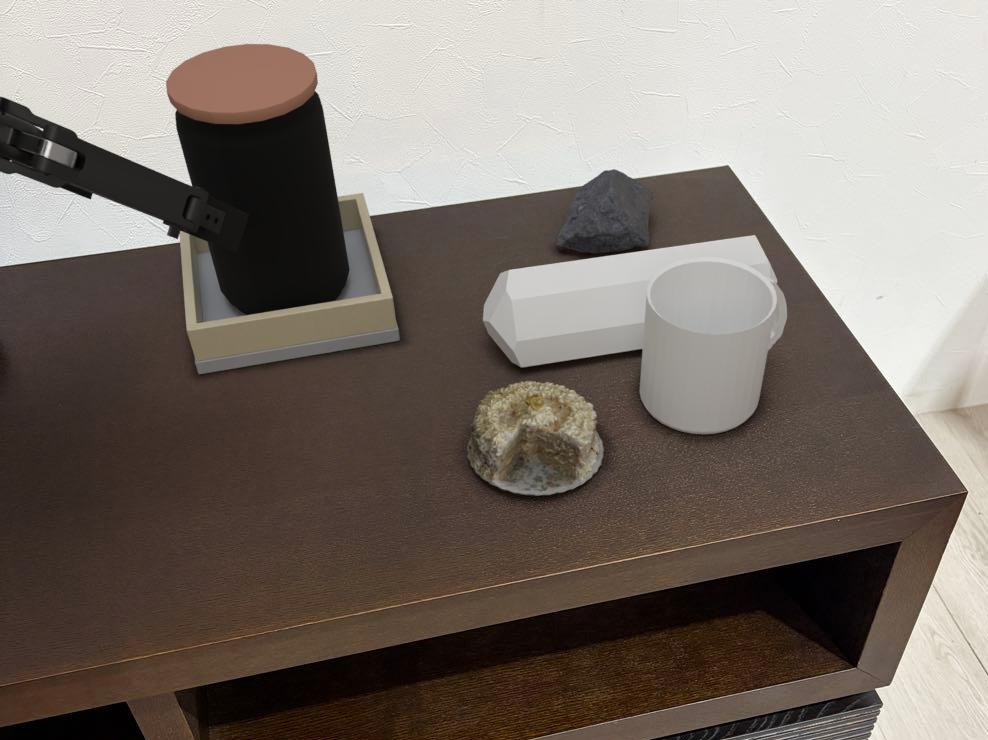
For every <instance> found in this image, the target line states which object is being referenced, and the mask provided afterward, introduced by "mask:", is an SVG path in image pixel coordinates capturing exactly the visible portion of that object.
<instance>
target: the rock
mask: <svg viewBox="0 0 988 740" xmlns="http://www.w3.org/2000/svg"><path fill="white" fill-rule="evenodd" d="M653 200H654V193H653V191H652V190H651V189H650V188H648V187H647V186H645V185H644V184H642V183H641V182H637V181H636V179H635V178H633V177H631V176H628V175H627V174H626V173H624V172H622V171H620V170H618V169H616V168H614V169H608V170H603V171H602V172H600V173H599V174H598V175H597V176H595V177H593V178H592V179H590V180H589V181H588V182H586V183H585V184H583V185H582V187H579V188H578V189H577V192H576V195H575V196H574V198H573V200H572V201H571V203H570V205H569V207H568V208H567V214H566V215H565V217H564V224H563V225H562V228H561V230H559V233H558V234H557V236H556V247H557V248H558V250H560V251H567V250H572V251H577V252H579V253H583V254H584V253H591V254H595V255H596V254H602V253H603V254H604V253H615V252H618V253H622V252H624V251H627V250H632V249H634V248H635V247H640V248H645V247H647V246H648V245H650V243H651V240H652V239H651V238H652V237H651V235H650V232H649V222H650V209H649V208H650V206H651V203H652V202H653Z"/></svg>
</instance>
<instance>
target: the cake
mask: <svg viewBox="0 0 988 740" xmlns="http://www.w3.org/2000/svg"><path fill="white" fill-rule="evenodd" d="M597 416H598V415H597V413H596V411H595V410H594V405H593V403H591V402H587V400H585V397H584V396H581V395H580V394H579V393H578V392H576V390H575V389H569V388H567V387H566V386H565V385H562V384H561V385H559V384H555V383H554V382H550V381H546V382H540V381H537V382H536V381H535V380H534V381H533V380H526V381H519V382H514V383H510V384H508V385H507V386H506V387H503V386H502V387H501V388H496V389H495V390H493V391H492V390H491V389H490V390H488V392H487V394H484V397H483V399H480V400H478V405H477V407H476V408H475V412H474V418H473V422H472V423H471V427H470V429H471V430H470V431H471V434H470V435H469V439H468V441H467V442H466V445H465V446H466V447H465V450H466V453H467V454H466V457H467V459H468V461H469V466H470V467H471V468H472V469H473V471H474V473H475V474H477V475H478V476H479V477H480V479H482V480H483V481H484V482H487V483H488V484H489V485H491V486H494V487H497V488H498V489H499V490H502V491H507V492H510V493H512V494H519V495H522V496H523V495H524V496H536V497H537V496H550V495H554V494H557V493H558V494H560V493H565V492H566V491H570V490H574V489H576V488H577V487H580V486H582V485H584V484H585V483H586V482H587V481H588V480H590V479H591V478H593V476H594V475H595V474H596V473H597V472H598V470H599V468H600V466H602V463H603V462H602V461H603V458H604V456H605V455H604V451H605V449H604V448H605V447H604V444H603V439H601V437H600V435H599V433H598V430H597V424H598V418H597Z"/></svg>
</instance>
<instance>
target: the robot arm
mask: <svg viewBox="0 0 988 740" xmlns="http://www.w3.org/2000/svg"><path fill="white" fill-rule="evenodd" d="M0 173H3V174H5V175H14V174H18V175H20V176H23V177H25V178H28V179H31V180H32V181H33V180H34V181H36V182H38V183H41V184H44V185H46V186H49V187H51V188H54V189H59V188H60V189H63V190H66V191H68V192H69V193H70V192H71V193H73V194H76V195H78V196H79V197H83V198H86V199H88V200H92V197H93V195H95V196H99V197H101V198H103V199H106V200H109V201H112V202H114V203H116V204H119V205H121V206H124V207H127V208H130V209H131V210H134V211H136V212H140V213H142V214H145V215H148V216H150V217H152V218H154V219H157V220H160V221H162V224H163V225H165V226H168V230H167V233H166V236H168V237H170V238H172V239H176V240H179V238H180V231H182V232H185V233H187V234H190V235H192V236H195V237H197V238H200V239H202V240H205V241H207V242H210V243H212V244H215V245H217V246H220V247H222V248H224V249H227V250H230V251H232V252H235V253H237V251H238V247H239V244H240V241H241V238H242V235H243V232H244V229H245V226H246V223H247V220H248V217H249V214H247V213H245V212H243V211H241V210H239V209H236V208H234V207H232V206H230V205H228V204H226V203H223V202H221V201H219V200H217V199H215V198H213V197H211V196H209V194H208V192H207V191H204V189H203V188H200V187H198V186H196V187H192V185H190V184H188V183H185V182H183V181H180V180H178V179H176V178H174V177H171V176H168V175H166V174H164V173H161V172H159V171H157V170H154V169H153V168H150V167H147V166H145V165H143V164H140V163H138V162H136V161H133V160H131V159H128V158H126V157H124V156H121V155H119V154H117V153H114V152H112V151H109V150H108V149H105V148H102V147H100V146H97V145H95V144H93V143H91V142H88V141H86V140H84V139H82V138H80V137H78V134H77V133H76V132H75V131H73V130H72V129H70V128H68V127H66V126H63V125H60V124H58V123H56V122H53V121H50V120H48V119H46V118H44V117H41V116H38V115H36V114H35V113H33V112H32V111H31V109H30V108H29V107H27V106H26V105H23V104H21V103H19V102H16V101H14V100H12V99H10V98H7V97H4V96H0Z"/></svg>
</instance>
